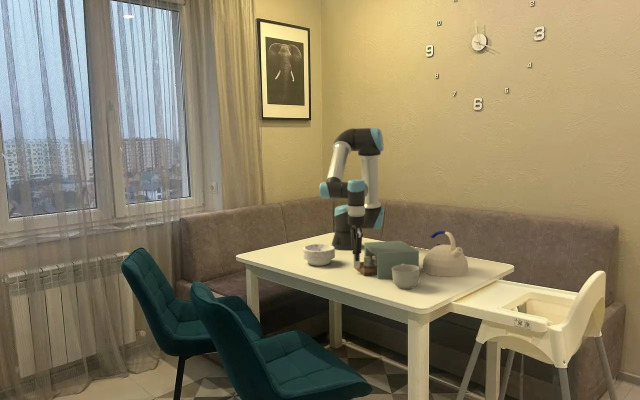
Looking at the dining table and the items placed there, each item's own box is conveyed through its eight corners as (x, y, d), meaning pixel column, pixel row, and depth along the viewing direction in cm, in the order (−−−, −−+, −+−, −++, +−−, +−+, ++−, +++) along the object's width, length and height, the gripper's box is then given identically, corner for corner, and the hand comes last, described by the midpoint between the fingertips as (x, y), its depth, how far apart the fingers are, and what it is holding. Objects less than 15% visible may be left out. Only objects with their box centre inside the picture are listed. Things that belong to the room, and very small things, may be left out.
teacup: (419, 291, 186) (419, 271, 185) (390, 290, 188) (391, 270, 187) (419, 281, 200) (419, 262, 199) (392, 279, 202) (392, 261, 201)
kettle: (441, 279, 202) (442, 237, 199) (412, 267, 220) (413, 229, 218) (479, 273, 210) (480, 233, 207) (448, 262, 228) (449, 225, 226)
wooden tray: (355, 269, 219) (354, 255, 219) (387, 267, 224) (387, 252, 223) (364, 277, 208) (364, 261, 207) (398, 274, 212) (398, 258, 211)
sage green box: (364, 265, 225) (364, 242, 223) (401, 263, 228) (401, 240, 227) (378, 278, 203) (378, 253, 202) (418, 276, 207) (418, 251, 205)
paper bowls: (320, 269, 220) (319, 252, 218) (296, 263, 230) (296, 247, 229) (341, 262, 231) (341, 246, 230) (318, 257, 241) (318, 242, 240)
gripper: (344, 213, 215) (344, 264, 218) (351, 217, 203) (351, 272, 206) (360, 212, 217) (360, 263, 220) (368, 217, 204) (368, 271, 207)
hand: (356, 267), depth 213 cm, fingers closed
